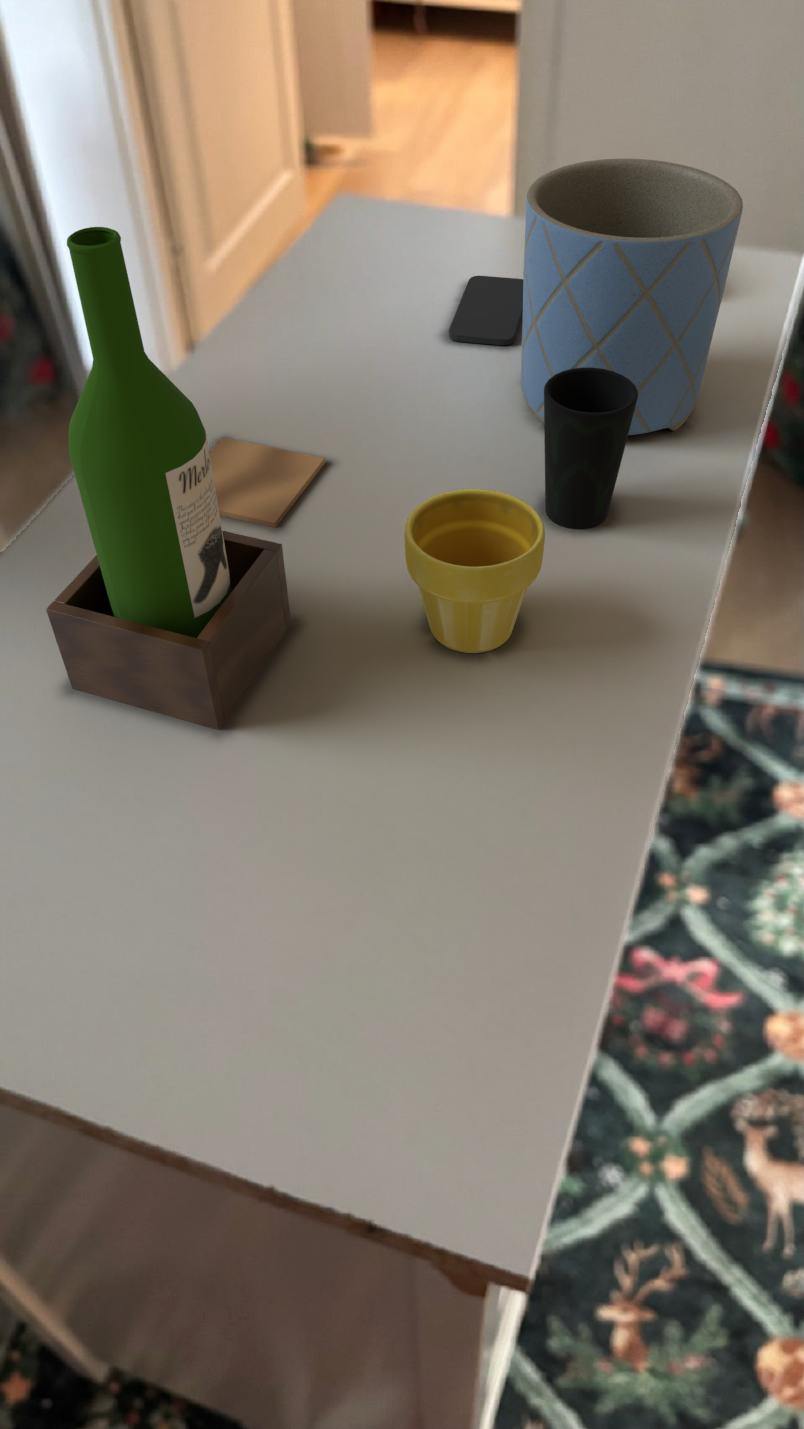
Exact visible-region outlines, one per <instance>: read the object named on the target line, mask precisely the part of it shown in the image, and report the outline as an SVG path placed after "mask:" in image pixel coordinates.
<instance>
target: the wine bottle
mask: <svg viewBox="0 0 804 1429" xmlns="http://www.w3.org/2000/svg"><path fill="white" fill-rule="evenodd" d="M121 241H122V237H121V235H120V233H119V232H118V231H117V230H115V229H114V228H113V229H112V228H111V227H110V228H109V227H105V226H89V227H84V228H82V229H78V230H76V231H74V232H73V233H71V234H70V235H68V237H67V238H66V247H67V248H68V250H69V255H70V260H71V264H72V265H71V266H72V269H73V274H74V277H75V282H76V288H77V292H78V296H79V300H80V306H81V310H82V315H83V319H84V324H85V328H86V331H87V332H86V333H87V337H88V342H89V346H90V351H91V355H92V356H91V357H92V365H91V369H90V371H89V374H88V376H87V379H86V381H85V383H84V386H83V389H82V391H81V393H80V396H79V398H78V401H77V403H76V406H75V408H74V411H73V412H72V415H71V418H70V420H69V422H68V432H67V433H68V455H69V458H70V463H71V466H72V470H73V473H74V477H75V480H76V484H77V488H78V490H79V491H78V492H79V496H80V498H81V502H82V506H83V510H84V513H85V514H84V515H85V517H86V521H87V523H88V528H89V531H90V535H91V539H92V542H93V546H94V550H95V554H96V555H97V557H98V561H99V565H100V568H101V572H102V576H103V579H104V583H105V587H106V590H107V594H108V597H109V601H110V605H111V608H112V612H113V616H114V617H117V618H120V619H124V620H128V621H132V622H136V623H140V624H144V625H147V626H151V627H155V628H159V629H163V630H167V631H171V632H174V633H178V634H182V635H186V636H190V637H194V638H197V637H198V636H199V634H200V633H201V632H202V630H203V629H204V628H205V627H206V625H207V624H208V623H209V621H210V620H211V619H212V617H213V616H214V615H215V613H216V612H217V611H218V609H219V608H220V607H221V605H222V604H223V603H224V602H225V600H226V599H227V598H228V596H229V595H230V594H231V592H232V589H231V583H230V575H229V568H228V562H227V556H226V550H225V544H224V538H223V532H222V531H223V527H222V520H221V515H220V514H219V508H218V502H217V496H216V490H215V484H214V478H213V472H212V466H211V460H210V454H209V452H210V448H209V443H208V438H207V431H206V428H205V426H204V424H203V422H202V420H201V419H202V418H201V417H200V415H199V412H198V410H197V409H196V407H195V405H194V404H193V402H192V401H191V400H190V399H189V398H188V397H187V396H186V394H185V393H184V392H183V391H181V389H179V388H178V387H177V386H176V385H175V383H173V381H172V380H170V378H169V377H168V376H167V375H165V373H163V372H162V370H161V369H160V368H159V367H158V366H157V365H156V364H155V363H154V362H153V361H152V360H151V359H150V358H149V356H148V355H147V353H146V352H145V347H144V344H143V338H142V334H141V329H140V324H139V319H138V315H137V311H136V306H135V302H134V298H133V297H134V296H133V293H132V288H131V284H130V279H129V274H128V269H127V266H126V260H125V257H124V252H123V247H122V242H121Z"/></svg>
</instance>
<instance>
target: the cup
mask: <svg viewBox="0 0 804 1429" xmlns="http://www.w3.org/2000/svg"><path fill="white" fill-rule="evenodd" d="M637 399H638V391H637V388H636V386H635V385H634V384H633V383H632V382H631V381H630V380H629V379H628V378H626V377H625V376H623V375H621V374H618V373H616V372H614V371H610V370H606V369H600V368H574V369H569V370H565V371H562V372H560V373H558V374H556V375H554V376H553V377H551V378H550V379H549V380H548V381H547V383H546V384H545V386H544V423H543V426H544V429H543V430H544V433H543V434H544V436H543V437H544V490H545V491H544V501H545V510H544V511H545V514H546V516H547V517H548V519H549V520H550V521H551V522H552V523H554V524H555V525H558V526H559V527H563V528H565V529H570V530H589V529H593V528H596V527H598V526H600V525H601V524H603V523H604V522H605V521H606V519H607V517H608V515H609V511H610V506H611V502H612V498H613V495H614V491H615V487H616V484H617V479H618V476H619V472H620V468H621V465H622V460H623V457H624V453H625V450H626V445H627V441H628V436H629V435H628V434H629V430H630V426H631V422H632V418H633V414H634V410H635V406H636V403H637Z"/></svg>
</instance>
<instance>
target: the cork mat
mask: <svg viewBox="0 0 804 1429" xmlns="http://www.w3.org/2000/svg"><path fill="white" fill-rule="evenodd" d="M209 454H210V460H211V466H212V472H213V478H214V484H215V490H216V496H217V502H218V508H219V514H220V517H221V516H222V517H226V518H231V519H235V520H239V521H244V522H248V523H253V524H257V525H261V526H265V527H271V528H277V527H278V526H279V524H280V523H281V521H282V520H283V519H284V518H285V516H286V515H288V514H287V513H288V512H289V511H290V510H291V508H292V507H293V506H294V505H295V503H296V502H297V501H298V499H299V498H300V497H301V495H303V492H304V491H305V490H306V489H307V487H308V486H309V485H310V484H311V483H312V481H314V479H315V477H316V476H317V475H318V473H319V472H320V471H321V469H322V468H323V467H324V465H325V464H326V458H325V457H321V456H316V455H312V454H307V453H303V452H302V453H301V452H297V451H292V450H287V449H283V448H277V447H272V446H267V445H263V444H258V443H252V442H248V441H243V440H238V439H233V438H228V437H221V438H220V439H219V441H218V442H216V444H214V446H213V447H212V448H211V449H209Z"/></svg>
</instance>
